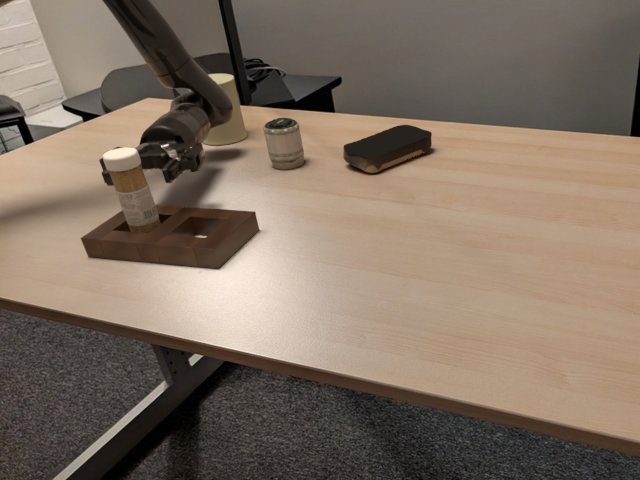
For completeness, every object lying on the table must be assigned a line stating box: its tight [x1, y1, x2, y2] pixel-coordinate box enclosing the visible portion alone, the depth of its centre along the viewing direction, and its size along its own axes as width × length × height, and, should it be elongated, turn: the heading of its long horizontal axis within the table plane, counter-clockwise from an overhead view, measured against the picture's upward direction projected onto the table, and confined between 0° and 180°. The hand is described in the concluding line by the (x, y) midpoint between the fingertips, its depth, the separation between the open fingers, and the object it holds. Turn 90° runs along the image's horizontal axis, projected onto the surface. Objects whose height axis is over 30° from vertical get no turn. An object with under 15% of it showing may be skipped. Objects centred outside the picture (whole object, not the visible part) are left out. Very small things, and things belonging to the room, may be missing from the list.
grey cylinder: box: [262, 117, 305, 170], centre depth 118 cm, size 6×6×8 cm
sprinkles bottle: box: [102, 147, 161, 233], centre depth 93 cm, size 5×5×13 cm
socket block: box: [80, 204, 260, 270], centre depth 95 cm, size 21×12×3 cm, turn 76°
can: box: [187, 73, 248, 146], centre depth 130 cm, size 9×9×12 cm
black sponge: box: [343, 124, 433, 174], centre depth 119 cm, size 16×8×4 cm, turn 136°
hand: (136, 178), depth 94 cm, fingers open, 8 cm apart
